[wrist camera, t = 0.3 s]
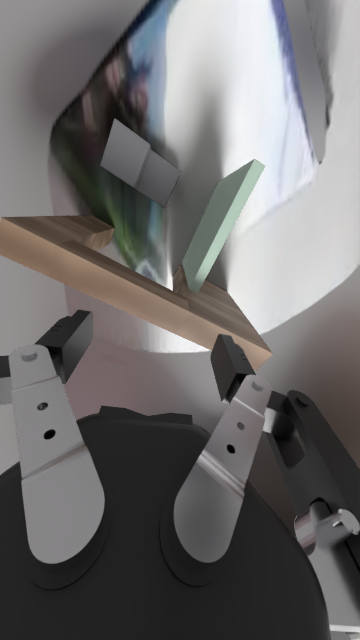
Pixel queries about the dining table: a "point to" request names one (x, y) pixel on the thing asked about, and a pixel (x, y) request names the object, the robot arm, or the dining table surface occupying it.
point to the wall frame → (126, 281)
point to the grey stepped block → (139, 164)
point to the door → (219, 222)
